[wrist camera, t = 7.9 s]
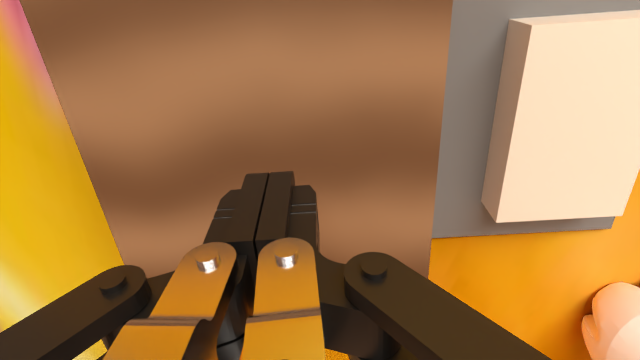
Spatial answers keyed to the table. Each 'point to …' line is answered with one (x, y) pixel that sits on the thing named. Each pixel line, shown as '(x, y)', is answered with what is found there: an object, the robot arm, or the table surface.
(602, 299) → the water bottle
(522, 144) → the white flat block
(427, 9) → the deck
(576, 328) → the table surface
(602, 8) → the mat
